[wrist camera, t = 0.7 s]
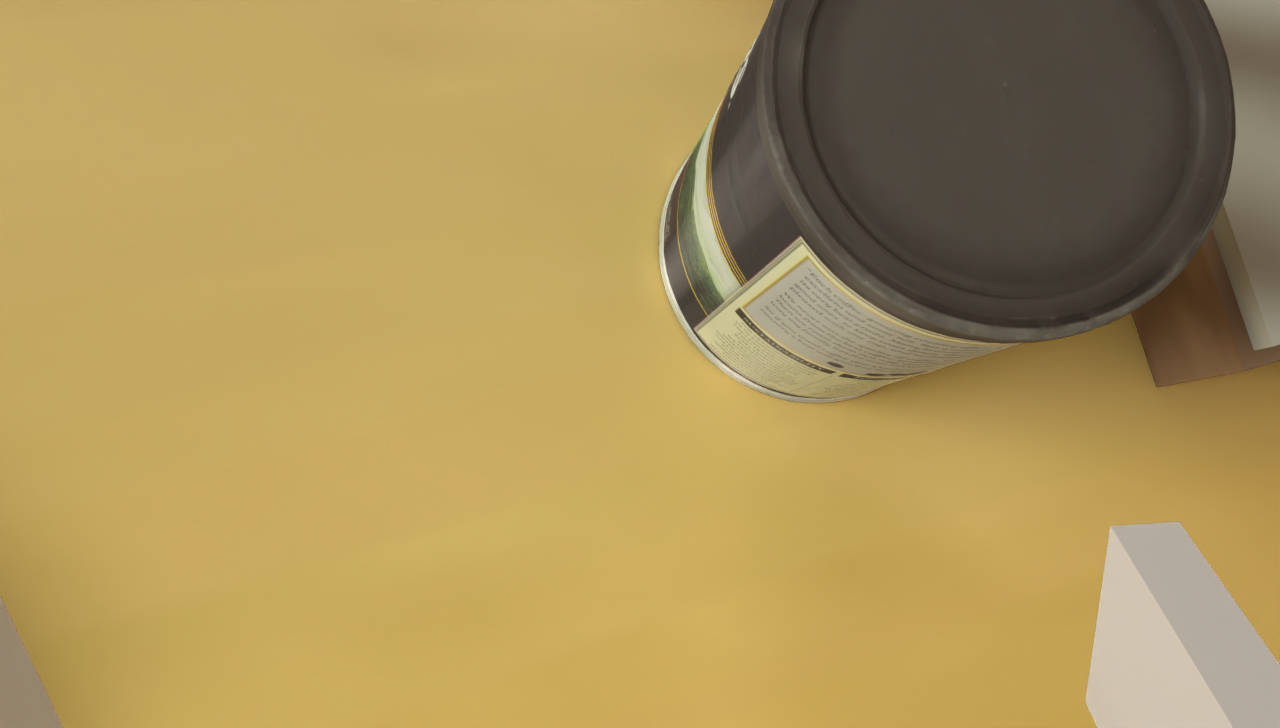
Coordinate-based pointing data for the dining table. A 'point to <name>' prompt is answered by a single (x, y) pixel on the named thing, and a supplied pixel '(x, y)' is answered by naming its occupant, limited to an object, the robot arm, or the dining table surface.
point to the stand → (1231, 227)
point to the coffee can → (943, 184)
